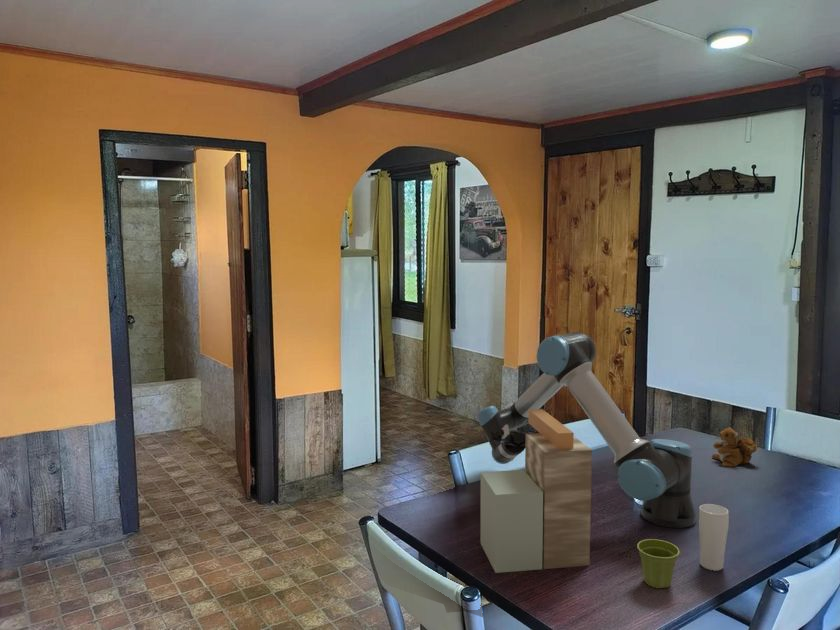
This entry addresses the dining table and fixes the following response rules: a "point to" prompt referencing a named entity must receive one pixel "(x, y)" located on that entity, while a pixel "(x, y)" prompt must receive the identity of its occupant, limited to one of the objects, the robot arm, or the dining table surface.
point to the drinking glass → (713, 535)
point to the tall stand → (562, 499)
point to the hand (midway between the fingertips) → (530, 427)
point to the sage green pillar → (511, 520)
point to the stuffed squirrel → (733, 448)
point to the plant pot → (657, 561)
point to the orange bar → (551, 429)
